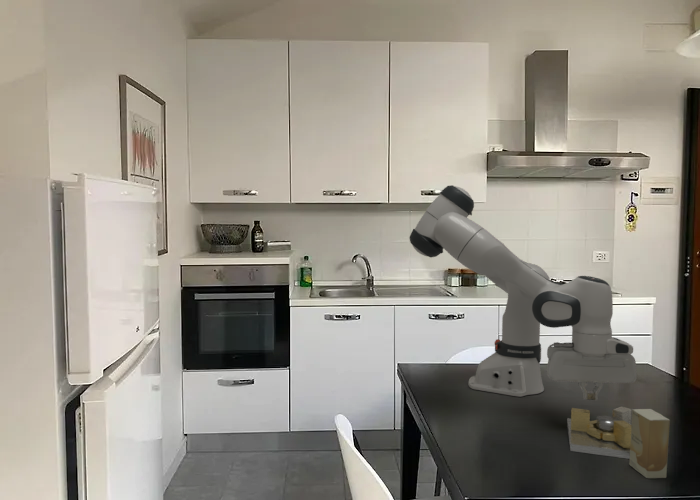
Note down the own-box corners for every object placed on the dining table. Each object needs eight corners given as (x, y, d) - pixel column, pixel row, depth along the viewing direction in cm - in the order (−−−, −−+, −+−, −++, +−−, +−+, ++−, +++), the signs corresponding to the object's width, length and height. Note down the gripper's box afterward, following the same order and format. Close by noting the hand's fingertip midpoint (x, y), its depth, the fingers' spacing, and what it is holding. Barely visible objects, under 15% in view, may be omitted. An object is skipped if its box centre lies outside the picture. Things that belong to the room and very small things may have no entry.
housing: (570, 450, 121) (571, 427, 121) (567, 424, 137) (567, 403, 137) (656, 462, 116) (657, 438, 115) (642, 433, 132) (642, 411, 131)
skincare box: (628, 465, 114) (630, 408, 114) (647, 464, 115) (650, 407, 114) (647, 479, 108) (649, 419, 107) (668, 479, 108) (670, 418, 108)
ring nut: (572, 441, 122) (573, 421, 122) (569, 418, 136) (569, 400, 136) (640, 449, 117) (641, 429, 117) (629, 425, 131) (630, 407, 131)
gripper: (551, 345, 130) (549, 402, 130) (640, 347, 128) (638, 405, 128) (544, 339, 136) (542, 393, 136) (629, 341, 134) (627, 396, 135)
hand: (590, 399), depth 132 cm, fingers closed
